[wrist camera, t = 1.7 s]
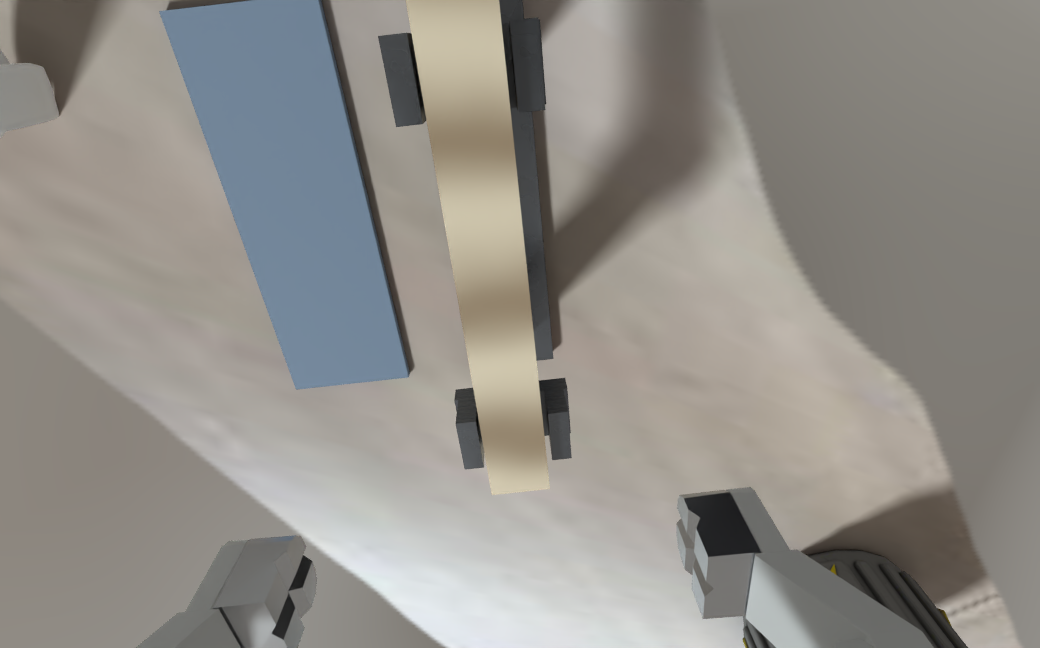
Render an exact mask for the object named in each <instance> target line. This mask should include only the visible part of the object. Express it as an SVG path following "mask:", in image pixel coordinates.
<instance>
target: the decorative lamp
mask: <svg viewBox="0 0 1040 648" xmlns="http://www.w3.org/2000/svg"><path fill="white" fill-rule="evenodd" d="M808 557H810V558H811V559H813V560H814V561H816V562H817V563H819V564H820V565H822V566H823V567H825V568H826V569H828V570H829V571H831V572H832V573H834V574H835V575H837V576H839V577H840V578H842V579H843V580H845V581H846V582H848V583H849V584H851V585H852V586H854V587H855V588H857V589H858V590H860V591H861V592H863V593H864V594H866V595H867V596H869V597H871V598H872V599H874V600H875V601H877V602H878V603H880V604H881V605H883V606H884V607H886V608H887V609H889V610H890V611H892V612H893V613H895V614H896V615H898V616H899V617H901V618H902V619H904V620H906V621H907V622H909V623H910V624H912V625H913V626H915V627H916V628H918V629H919V630H921V631H922V632H923V633H924V635H925V636H926V638H927V639H928V640H929V642H930V643H931V644H932V646H933V647H934V648H968V647H967V646H966V645H965V643H964V642H963V641H962V640H961V638H960V637H959V636H958V634H957V633H956V632H955V631H954V629H953V628H952V626H951V624H950V622H949V620H948V618H947V615H946V613H945V611H944V610H941V609H938V608H936V606H935V605H934V604H933V603H932V601H931V600H930V599H929V597H928V596H927V595H926V594H925V592H924V591H923V590H922V589H921V587H920V586H919V585H918V584H917V582H916V581H915V580H913V579H912V578H911V576H910V575H908V574H907V573H906V572H904V571H903V572H902V571H901V570H900V569H899V568H898V567H897V566H896V565H894V564H893V563H892V562H890V561H889V560H888V559H886V558H885V557H882V556H879V555H875V554H871V553H868V552H864V551H852V550H833V551H828V552H823V553H818V554H813V555H809V556H808ZM743 620H744V628H743V631H744V638H743V642H744V645H745V647H746V648H776V647H775V646H774V645H773V644H772V643H771V642H770V641H769V640H768V639H767V638H766V637H765V636H764V635H763V634H762V633H761V632H760V631H758V630H757V629H756V628H755V627H754V626H753V625H752V624H751V623H750V622H749V621H748V620H747V619H746V616H743Z"/></svg>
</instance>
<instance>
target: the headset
mask: <svg viewBox="0 0 1040 648" xmlns="http://www.w3.org/2000/svg"><path fill="white" fill-rule="evenodd" d="M58 117H59V111H58V108H57V104H56V101H55V97H54V93H53V90H52V86H51V84H50V81H49V79H48V76H47V74H46V72H45V69H44V68H43V67H42V66H39V65H35V64H31V63H14V64H10V63H9V61H8V59H7V58H6V56H5V55H4V53H3V52H2V51H1V50H0V138H1V137H2V136H3V135H4V134H5V132H6V131H10V130H15V129H19V128H23V127H28V126H32V125H36V124H40V123H44V122H48V121H51V120H54V119H56V118H58Z"/></svg>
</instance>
